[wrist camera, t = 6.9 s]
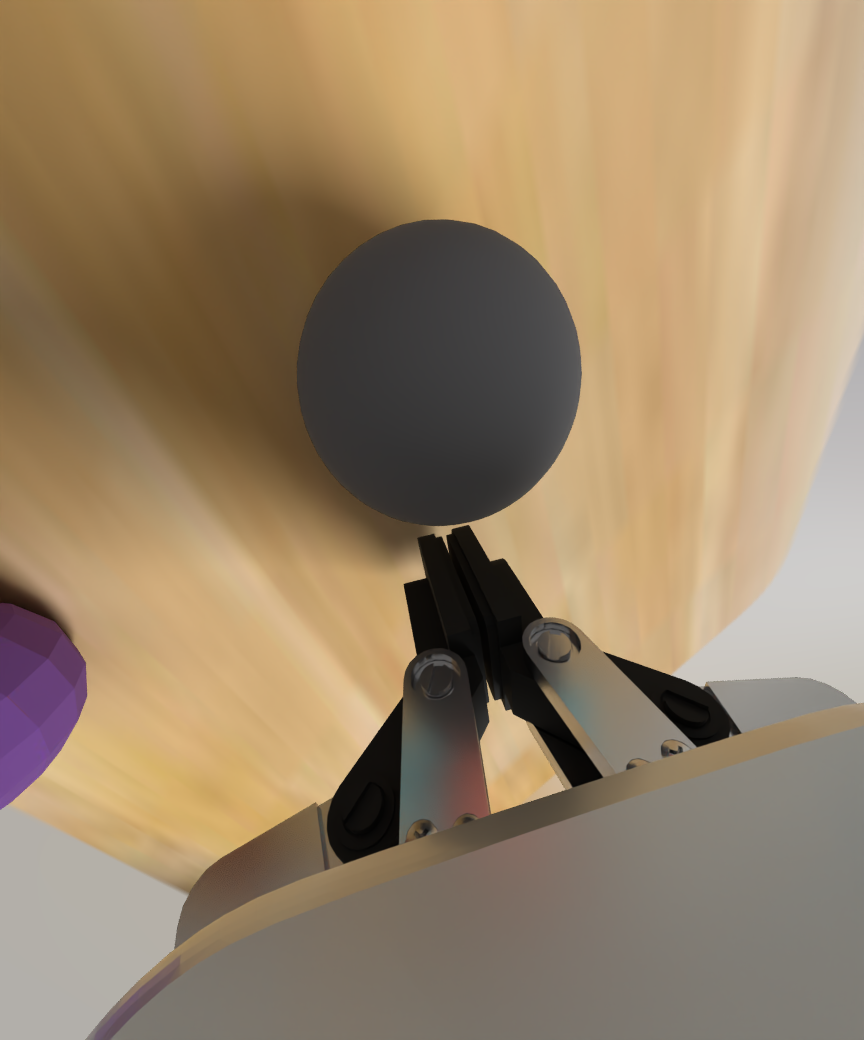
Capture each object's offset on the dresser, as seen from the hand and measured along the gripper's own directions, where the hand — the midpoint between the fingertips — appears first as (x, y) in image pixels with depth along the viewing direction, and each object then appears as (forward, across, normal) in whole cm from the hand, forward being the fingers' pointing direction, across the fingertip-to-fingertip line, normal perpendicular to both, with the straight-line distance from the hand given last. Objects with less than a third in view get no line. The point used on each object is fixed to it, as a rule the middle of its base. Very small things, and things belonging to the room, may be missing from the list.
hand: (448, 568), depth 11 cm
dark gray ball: (-1, 0, -6) cm, 6 cm away
